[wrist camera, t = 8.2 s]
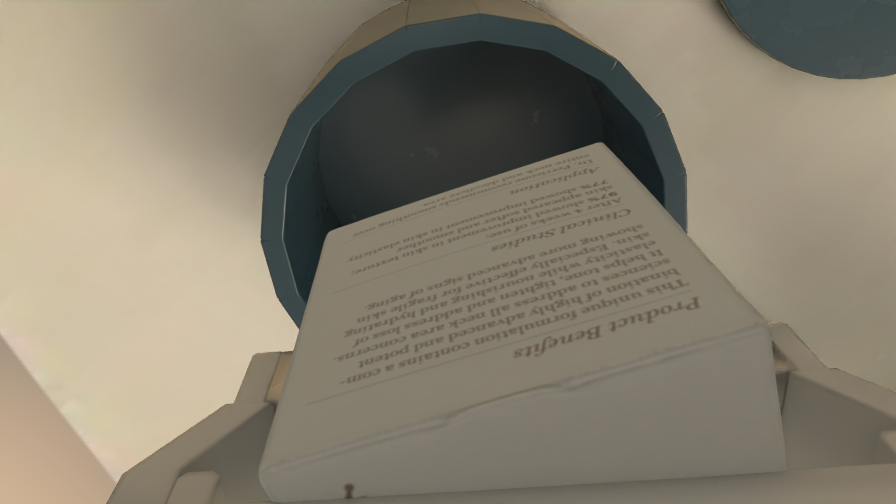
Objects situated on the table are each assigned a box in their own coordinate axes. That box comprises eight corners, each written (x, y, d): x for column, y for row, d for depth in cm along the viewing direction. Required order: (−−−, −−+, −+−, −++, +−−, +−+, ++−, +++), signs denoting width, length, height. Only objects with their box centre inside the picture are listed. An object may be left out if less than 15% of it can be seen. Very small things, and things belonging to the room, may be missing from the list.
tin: (386, -76, 29) (370, -77, 20) (679, 87, 32) (774, 146, 23) (256, 222, 34) (201, 322, 25) (520, 336, 37) (550, 460, 29)
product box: (416, 445, 17) (411, 779, 10) (321, 223, 15) (234, 473, 8) (666, 376, 16) (831, 683, 10) (611, 132, 14) (782, 320, 7)
